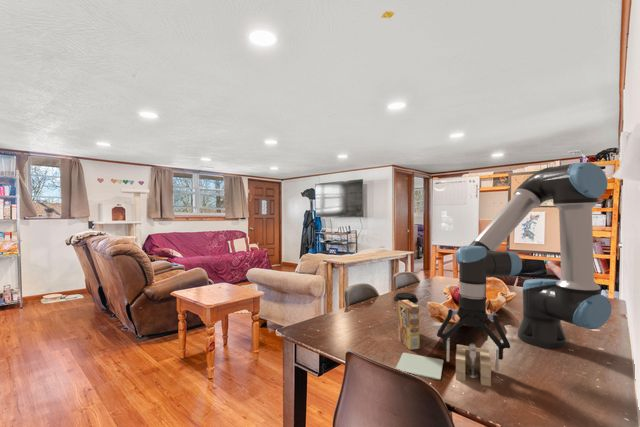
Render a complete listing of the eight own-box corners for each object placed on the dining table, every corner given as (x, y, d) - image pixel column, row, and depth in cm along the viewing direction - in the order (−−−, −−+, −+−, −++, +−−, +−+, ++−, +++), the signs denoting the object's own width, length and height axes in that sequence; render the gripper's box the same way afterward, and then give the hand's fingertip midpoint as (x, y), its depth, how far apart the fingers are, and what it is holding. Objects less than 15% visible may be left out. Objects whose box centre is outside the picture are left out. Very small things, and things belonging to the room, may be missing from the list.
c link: (456, 363, 101) (456, 344, 101) (488, 368, 97) (488, 349, 97) (455, 379, 91) (455, 358, 91) (491, 386, 87) (490, 364, 87)
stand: (478, 374, 94) (478, 343, 94) (478, 379, 91) (478, 346, 91) (467, 372, 95) (467, 341, 95) (467, 377, 92) (467, 345, 92)
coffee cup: (419, 337, 122) (419, 298, 122) (394, 335, 124) (394, 297, 124) (416, 328, 131) (416, 292, 131) (393, 327, 133) (393, 291, 133)
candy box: (420, 349, 112) (420, 306, 112) (409, 350, 111) (409, 306, 111) (407, 339, 120) (407, 299, 120) (397, 340, 119) (397, 300, 119)
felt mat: (443, 361, 102) (443, 359, 102) (440, 380, 91) (440, 378, 91) (402, 353, 108) (402, 352, 108) (395, 370, 96) (395, 369, 96)
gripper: (517, 298, 96) (517, 367, 96) (431, 288, 106) (430, 351, 106) (521, 304, 89) (520, 379, 89) (428, 293, 99) (428, 361, 99)
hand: (471, 364), depth 97 cm, fingers open, 13 cm apart
